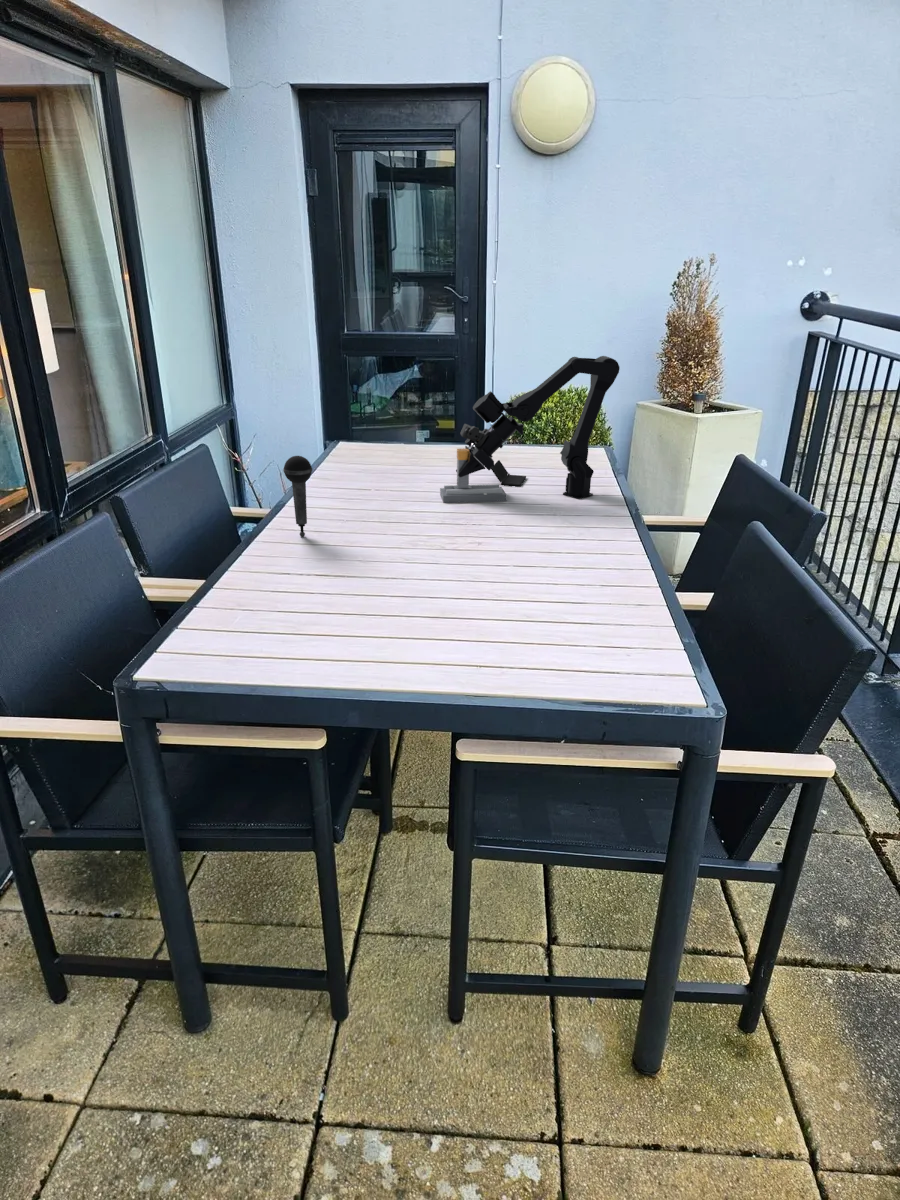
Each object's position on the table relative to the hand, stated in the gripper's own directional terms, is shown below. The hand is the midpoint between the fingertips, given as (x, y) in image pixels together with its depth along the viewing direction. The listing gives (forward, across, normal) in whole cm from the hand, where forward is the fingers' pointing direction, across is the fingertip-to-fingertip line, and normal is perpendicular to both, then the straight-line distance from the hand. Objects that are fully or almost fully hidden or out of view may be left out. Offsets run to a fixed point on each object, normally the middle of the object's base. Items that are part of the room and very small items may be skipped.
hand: (457, 474), depth 223 cm
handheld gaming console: (-8, -17, +18) cm, 26 cm away
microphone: (+35, +30, -25) cm, 53 cm away
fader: (+3, 0, +5) cm, 5 cm away
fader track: (+2, 0, +8) cm, 8 cm away
